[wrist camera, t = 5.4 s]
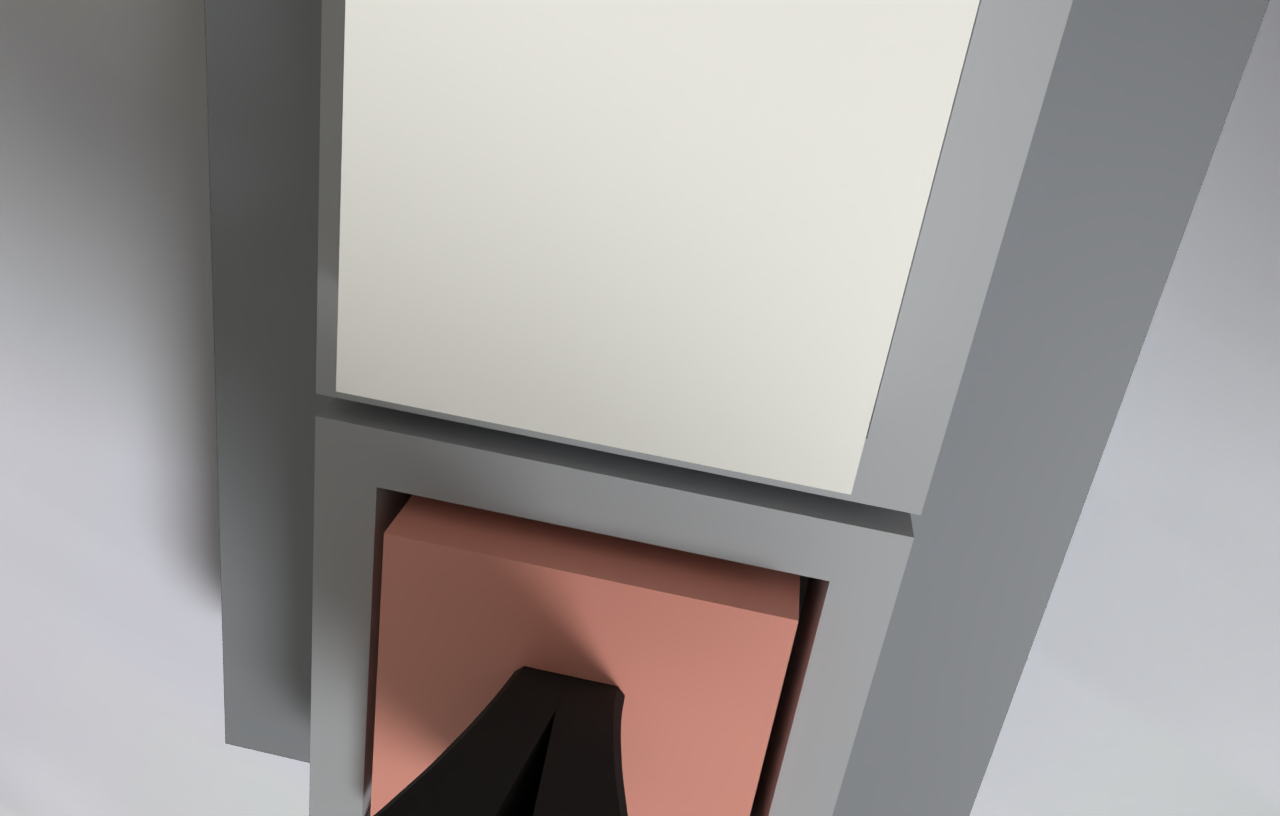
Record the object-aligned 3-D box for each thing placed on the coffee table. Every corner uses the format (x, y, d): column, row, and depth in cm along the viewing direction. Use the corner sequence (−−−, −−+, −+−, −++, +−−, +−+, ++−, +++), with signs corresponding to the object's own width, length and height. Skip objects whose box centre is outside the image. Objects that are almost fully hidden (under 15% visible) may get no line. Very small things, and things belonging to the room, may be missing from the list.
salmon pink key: (802, 515, 14) (798, 621, 12) (735, 789, 16) (722, 922, 14) (450, 444, 15) (383, 532, 13) (429, 719, 17) (369, 838, 15)
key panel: (1563, -1100, 10) (2120, -1888, 5) (921, 794, 19) (949, 1023, 15) (304, -1189, 11) (-23, -1910, 6) (292, 653, 20) (157, 833, 16)
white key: (963, -87, 10) (1005, -99, 8) (844, 392, 12) (850, 495, 10) (453, -166, 10) (349, -200, 8) (424, 310, 12) (336, 390, 10)
